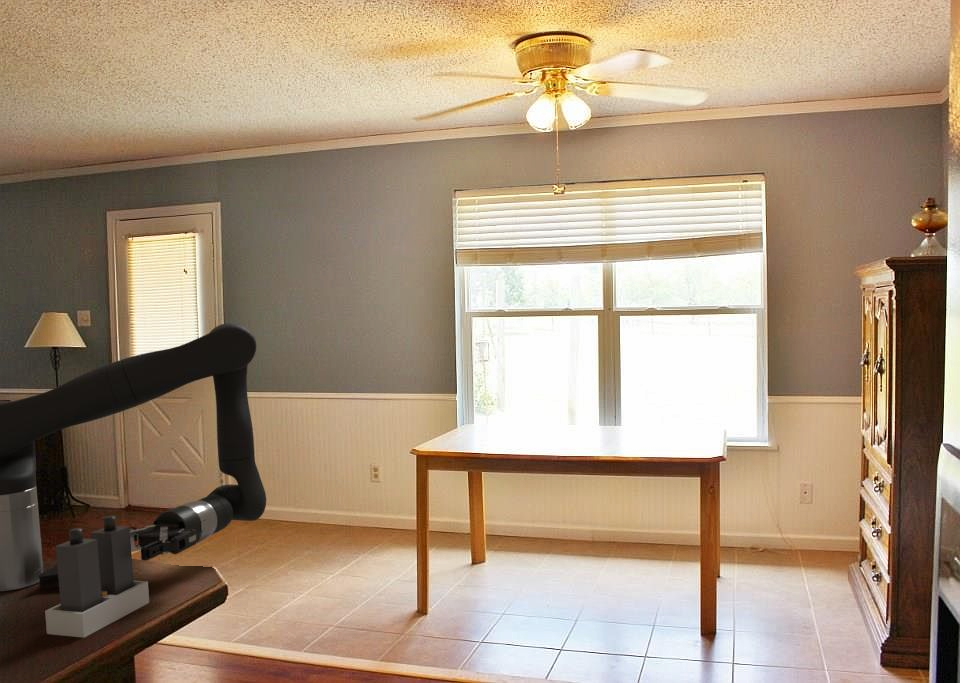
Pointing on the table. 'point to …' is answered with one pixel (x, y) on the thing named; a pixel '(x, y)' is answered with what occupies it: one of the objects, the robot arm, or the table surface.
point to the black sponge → (49, 578)
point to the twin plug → (78, 573)
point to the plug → (114, 557)
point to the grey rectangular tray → (97, 612)
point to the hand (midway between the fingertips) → (121, 553)
